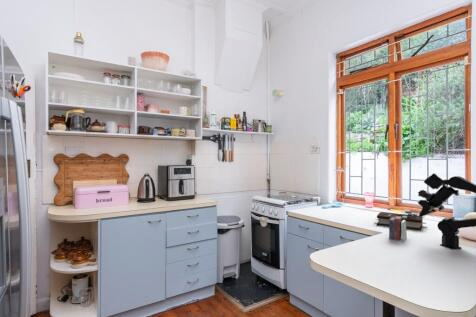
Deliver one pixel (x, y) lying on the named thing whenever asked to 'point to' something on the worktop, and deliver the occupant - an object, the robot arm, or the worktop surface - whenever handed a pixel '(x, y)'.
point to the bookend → (403, 230)
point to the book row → (395, 228)
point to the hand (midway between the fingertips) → (419, 216)
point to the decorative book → (411, 220)
